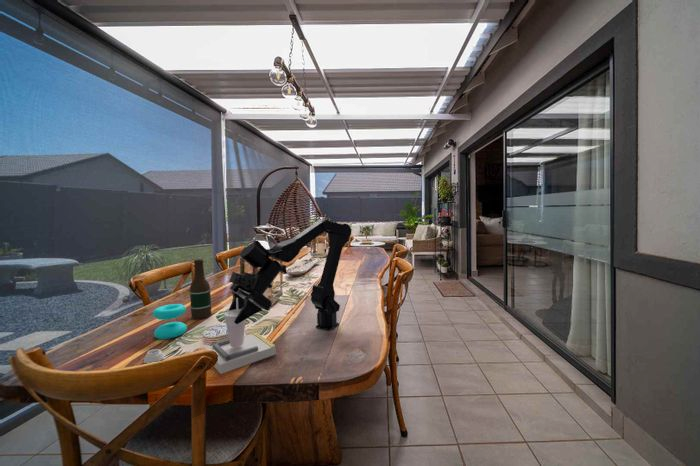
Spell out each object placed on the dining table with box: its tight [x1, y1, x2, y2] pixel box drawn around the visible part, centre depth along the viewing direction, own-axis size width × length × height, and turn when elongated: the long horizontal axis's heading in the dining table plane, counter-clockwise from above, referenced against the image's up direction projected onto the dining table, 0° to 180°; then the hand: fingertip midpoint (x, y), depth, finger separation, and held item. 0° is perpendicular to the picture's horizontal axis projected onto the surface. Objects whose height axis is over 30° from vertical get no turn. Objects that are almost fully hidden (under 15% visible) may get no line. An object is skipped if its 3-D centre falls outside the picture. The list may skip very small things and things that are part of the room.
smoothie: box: [223, 298, 247, 347], centre depth 88 cm, size 6×6×14 cm
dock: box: [204, 332, 277, 375], centre depth 89 cm, size 16×14×4 cm
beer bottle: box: [189, 259, 212, 320], centre depth 123 cm, size 8×8×24 cm
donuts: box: [152, 303, 188, 340], centre depth 105 cm, size 10×10×10 cm
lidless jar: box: [143, 348, 165, 364], centre depth 87 cm, size 5×3×5 cm
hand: (231, 320), depth 87 cm, fingers closed on smoothie, 6 cm apart
